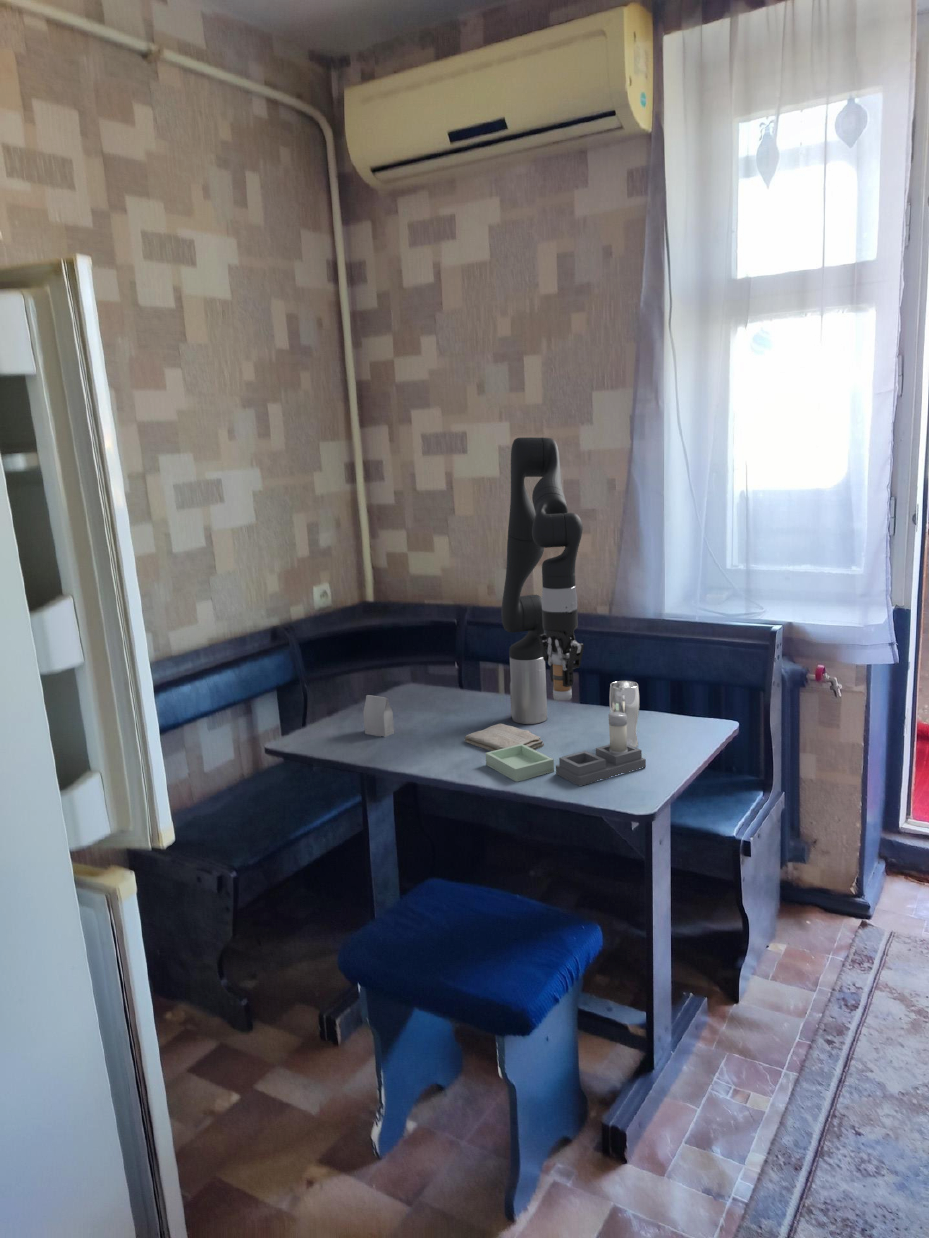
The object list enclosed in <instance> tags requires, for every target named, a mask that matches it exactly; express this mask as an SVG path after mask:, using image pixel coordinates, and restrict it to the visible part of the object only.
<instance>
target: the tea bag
mask: <svg viewBox="0 0 929 1238" xmlns="http://www.w3.org/2000/svg"><path fill="white" fill-rule="evenodd" d="M362 711H363V712H362V713H363V715H362V716H363V723H364V726H363V727H364V734H365V735H370V736H375V737H381V736H384V737H383V738H387V737H389V736H391V735H393V734H395V728H394V727H395V726H394V718H393V717H394V715H393V714H394V713H393V709H392V706H391V705H390V703H389V698H388V697H384V696H378V695H372V694H371V695H369V694H367V695H365V703H364V707H363V710H362ZM386 736H387V737H386Z"/></svg>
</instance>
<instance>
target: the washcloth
mask: <svg viewBox="0 0 929 1238" xmlns="http://www.w3.org/2000/svg"><path fill="white" fill-rule="evenodd" d="M464 742H465V743H468V744H470V745H473V746H476V747H479V748H481V749H484V750H488V751H490V752H491V751H495V750H499V749H503V748H507V747H511V746H515V745H519V744H523V745H526V746H528V747H530V748H532V749H534V750H537V749H540V748H543V747H544V746H545V744H544V743H543V742H544V741H543V740H541V736H538V735H536V734H534V733H531V731H530V730H529V729H528V730H526V729H525V730H524V729H522V728H518V727H515V726H512V725H507V724H505V723H497V724H496V723H495V724H494V725H491V726H488V727H487V728H485V729H483V730H477V731H474V732H472V733H469V734H466V735H465V736H464Z"/></svg>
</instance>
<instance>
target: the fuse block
mask: <svg viewBox="0 0 929 1238" xmlns="http://www.w3.org/2000/svg"><path fill="white" fill-rule="evenodd" d="M609 749H610V743H609V744H606V745H602V746H599V747H596V748H595V754H594V753H591V752H589V751H588V750H584V751H579V752H576V753H573V754H568V755H564V756H561V757H558V760H559V761H558V763H559V764H557V765H556V764H555V775H557V776H559V777H560V778H563V779H565V780H567V781H569V782H571V783H572V784H574V783H575V784H574V785H577V786H578V785H584V786H587V785H590V784H589V783H591V782H594V783H596V782H595V781H597V780H600V779H605V780H607V779H606V778H608V779H610V778H609V777H611V776H615V775H618V774H621V773H626V774H628V773H627V772H629V771H632V770H636V769H639V768H642V767H646V768H647V761H646V758H644V757H643V755H642V754H643V753H642V749H640V748H638V747H633V746H631V745H628V744H627V751H628V752H625V753H621V754H617V755H616V754H614V753H611V752H609ZM636 771H637V770H636ZM629 773H630V772H629ZM615 777H616V776H615ZM586 784H587V785H586ZM591 784H592V783H591Z"/></svg>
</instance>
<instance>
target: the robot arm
mask: <svg viewBox="0 0 929 1238" xmlns="http://www.w3.org/2000/svg"><path fill="white" fill-rule="evenodd" d="M536 477H537V478H540V479H539V480H538V481H537V482H536V484H535V486H533V487H534V488H533V490H532V495H531V496H532V497H530V495H529V494H528V492H527V489H526V485H525V478H536ZM562 484H563V483H562V469H561V458H560V451H559V447H558V444H557V442H556V440H554V439H553V438H550V437H533V436H532V437H529V436H528V437H517V438H515V439H514V440H513V442H512V445H511V449H510V502H509V503H510V504H509V506H510V507H509V516H508V528H507V543H506V571H505V580H504V588H503V594H502V600H501V601H502V603H501V613H500V614H501V623H502V627H503V629H504V631H506V632H508V633H522V632H527V633H526V635H525V636H523V638H521V639H520V640H518V641H516V642H514V643H513V644H511V645H510V647H509V649H508V650H509V669H510V683H509V695H510V698H509V699H510V717H511V718H512V721H513V722H515V723H518V724H522V725H525V724H526V725H534V724H540V723H544V722H545V721H547V719H548V700H547V699H548V698H547V678H546V677H547V675H546V673H547V672H546V662H547V664H548V666H549V673H550V674H549V675H550V682H552V683H553V663H552V653H553V652H555V653H556V652H557V653H558V656H559V659H560V660H561V661H562V667H563V670H562V671H563V686H564V687H569V686H571V687H573V685H574V670H575V669H579V668H580V667H581V663H582V658H583V653H584V649H585V644H584V643H582V642H581V643H579V642H578V641H577V640H576V636H575V630H576V629H577V628H578V626H579V625H578V623H579V622H578V621H579V620H578V619H579V618H578V594H577V589H576V587H577V586H576V563H577V562H576V561H577V557H578V552H579V551H578V550H579V547H580V543H581V541H582V540H581V539H582V536H583V531H584V529H583V528H584V527H583V521H582V519H581V518H580V516H579V515H578V514H576V513H575V512H569V507H568V505H567V499H566V497H565V494H564V491H563V485H562ZM531 498H532V500H531ZM550 548H564V550H563V551H562V552H561V553H560V554H559V555H556V556H553V557H551V558H547V559H545V560H544V561H542V564H541V574H542V575H541V577H542V579H541V581H542V584H541V585H542V589H541V596H540V594H528V595H526V594H525V595H521V593H522V589H523V587H524V585H525V582H526V580H527V579H528V577H529V576H530V575H531V574H532V572H533V571H534V570H535V567H537V565H538V564H539V562H540V561H541V559H542V556H543V555H544V552H545V551H544V550H545V549H550ZM567 653H569V654H570V655H567V656H564V654H567ZM567 659H569V661H568V664H567V661H566V660H567Z"/></svg>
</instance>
